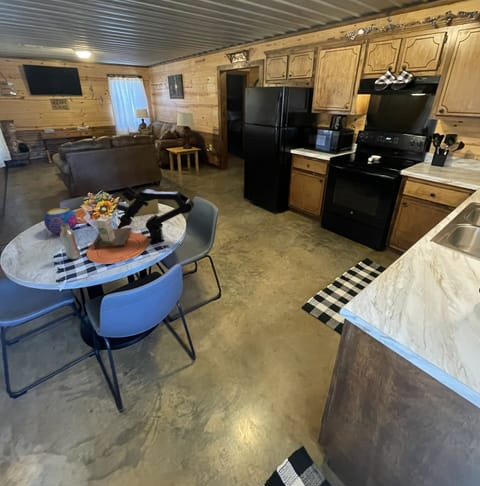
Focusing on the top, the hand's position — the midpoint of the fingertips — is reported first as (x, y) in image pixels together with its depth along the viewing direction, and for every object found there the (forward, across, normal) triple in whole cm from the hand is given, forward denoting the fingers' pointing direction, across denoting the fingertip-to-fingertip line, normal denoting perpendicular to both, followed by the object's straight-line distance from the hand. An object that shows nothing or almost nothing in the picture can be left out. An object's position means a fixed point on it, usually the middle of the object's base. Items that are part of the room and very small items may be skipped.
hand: (119, 224), depth 157 cm
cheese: (+3, -40, +13) cm, 42 cm away
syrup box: (+12, 0, +1) cm, 12 cm away
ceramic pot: (+36, -20, -21) cm, 46 cm away
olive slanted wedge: (+12, -4, +4) cm, 13 cm away
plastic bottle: (+24, +15, -8) cm, 29 cm away
